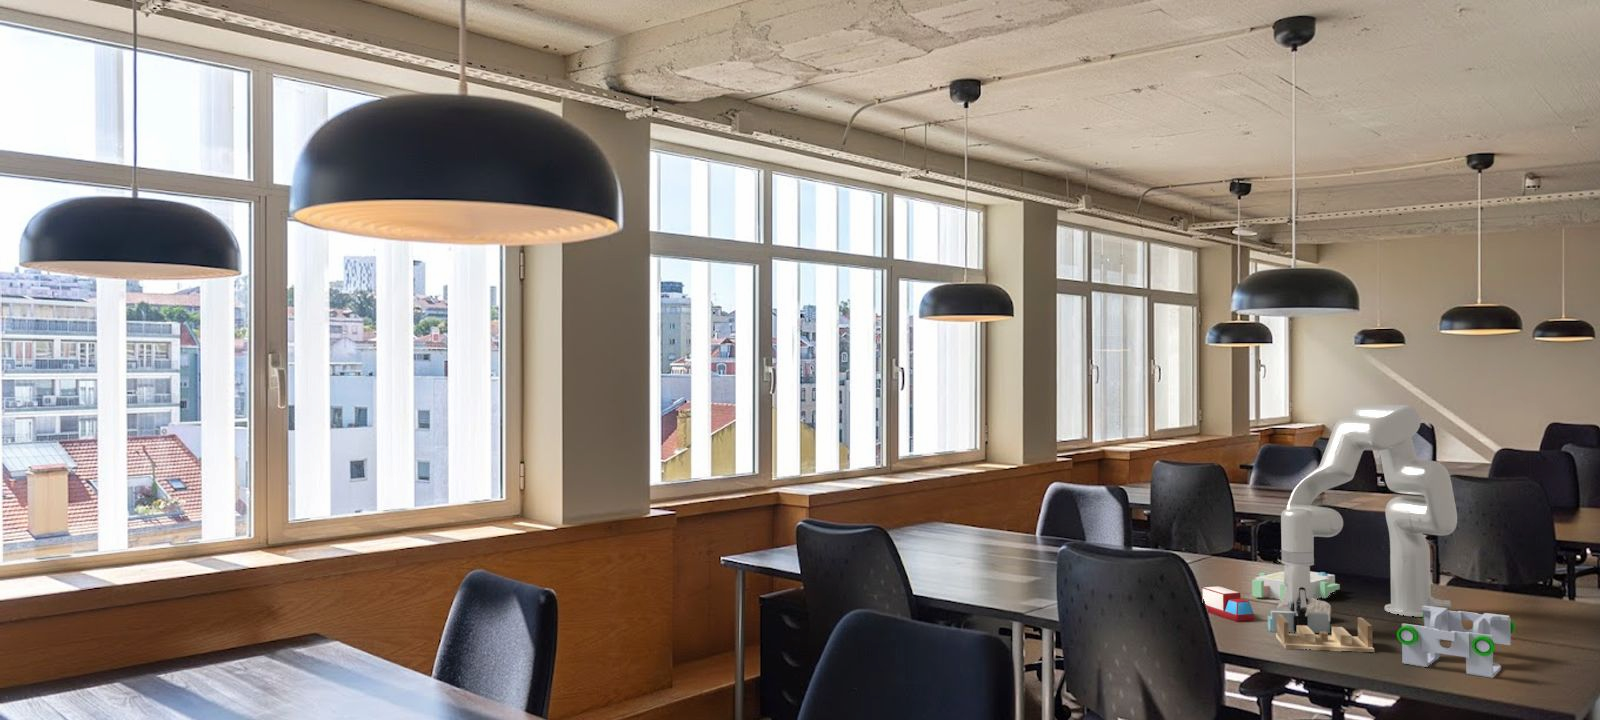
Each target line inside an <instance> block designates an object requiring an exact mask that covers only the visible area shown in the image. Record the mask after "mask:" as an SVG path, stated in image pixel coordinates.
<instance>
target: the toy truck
mask: <svg viewBox="0 0 1600 720" xmlns="http://www.w3.org/2000/svg"><path fill="white" fill-rule="evenodd" d="M1203 599H1204V601H1205V604H1206V607H1207V609H1208V612H1207V613H1209V614H1211V615H1214V616H1218V617H1220V618H1223V619H1226V620H1230V621H1233V622H1234V623H1242V622H1244V623H1246V622H1254V621H1255V614H1254V611H1253V608H1252V606H1251V605H1252V604H1251V603H1250V601H1249V600H1247V599H1243V598H1241V592H1239V591H1237V590H1236V591H1235V590H1232V589H1229V588H1225V587H1222V586H1220V585H1219V586H1206V587H1202V600H1203Z"/></svg>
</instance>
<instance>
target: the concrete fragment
mask: <svg viewBox="0 0 1600 720" xmlns="http://www.w3.org/2000/svg"><path fill="white" fill-rule="evenodd" d="M1276 611H1290V603H1289V602H1288V601H1287V600H1286V599H1285V598H1284V599H1283V600H1282V601H1281V602H1278V603H1277V607H1276ZM1307 612H1322V613H1327V614H1328V620H1329V621H1330V622H1331V619H1332V618H1331V616H1332V605H1331V604H1330V603H1329V602H1327V601H1325V600H1321V599H1318V600H1317V599H1315V598H1311V602H1310V604H1308V605H1307Z"/></svg>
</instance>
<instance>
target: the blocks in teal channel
mask: <svg viewBox="0 0 1600 720" xmlns="http://www.w3.org/2000/svg"><path fill="white" fill-rule="evenodd" d="M1277 614H1281V615H1282V616H1283V617H1284V618H1285V619H1286V620H1287V622H1288V623H1289V632H1290V633H1289V634H1297V632H1295V631H1294V616H1295V612H1294V611H1277V610H1270V615H1267V629H1268V631H1269V632H1272V633H1277ZM1307 616H1308V627H1309V628H1310V629H1311V630H1312V631H1313V632H1314V633H1319V631H1326V632H1327V633H1330V634H1331V631H1330V630H1331V629H1330V628H1331V627H1330V626H1331V625H1330V623H1331V620H1330V621H1329V620H1328V614H1327V613H1322V612H1307ZM1294 632H1295V633H1294Z"/></svg>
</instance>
